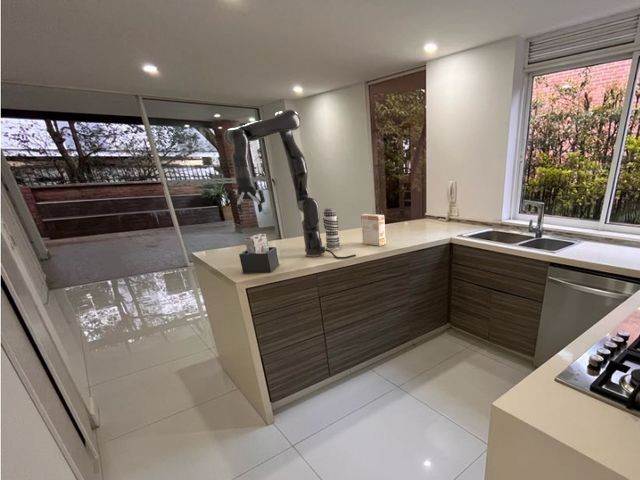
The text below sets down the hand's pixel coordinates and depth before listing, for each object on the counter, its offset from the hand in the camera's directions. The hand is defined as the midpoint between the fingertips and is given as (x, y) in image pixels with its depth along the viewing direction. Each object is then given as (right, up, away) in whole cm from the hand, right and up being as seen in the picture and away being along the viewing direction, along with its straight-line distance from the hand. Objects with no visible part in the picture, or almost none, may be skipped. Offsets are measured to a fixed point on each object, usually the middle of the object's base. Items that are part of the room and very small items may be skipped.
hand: (251, 212), depth 166 cm
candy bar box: (0, -26, +11) cm, 28 cm away
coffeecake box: (+51, -2, +66) cm, 84 cm away
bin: (0, -26, +11) cm, 29 cm away
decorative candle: (+27, -7, +54) cm, 60 cm away
